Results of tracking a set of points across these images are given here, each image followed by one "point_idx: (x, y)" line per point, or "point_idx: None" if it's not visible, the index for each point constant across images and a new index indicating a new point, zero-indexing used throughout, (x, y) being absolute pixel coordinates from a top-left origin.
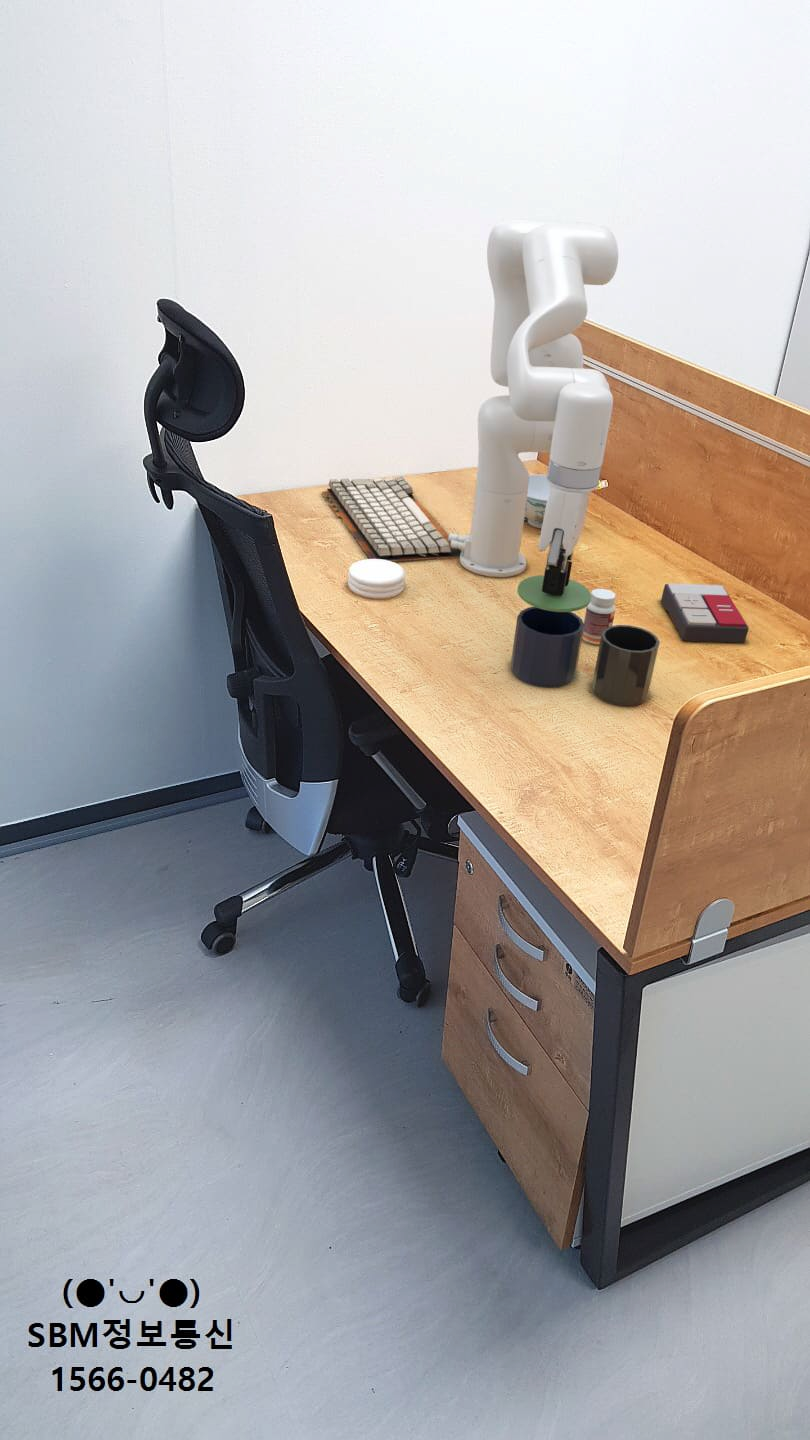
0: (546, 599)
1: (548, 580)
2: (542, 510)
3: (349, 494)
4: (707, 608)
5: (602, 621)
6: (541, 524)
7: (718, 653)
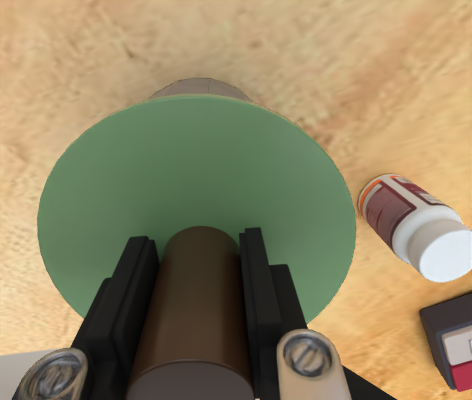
0: (109, 254)
1: (88, 313)
2: None
3: None
4: None
5: (382, 237)
6: None
7: (394, 349)
